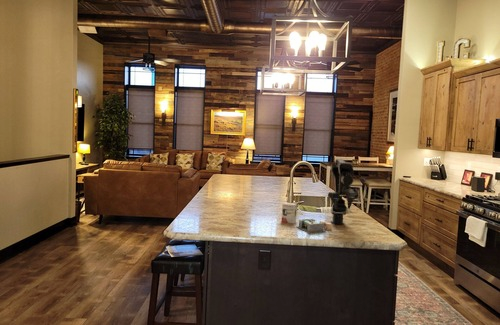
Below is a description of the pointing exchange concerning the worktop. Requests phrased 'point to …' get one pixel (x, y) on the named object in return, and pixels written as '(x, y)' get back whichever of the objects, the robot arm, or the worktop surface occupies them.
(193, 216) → the worktop surface
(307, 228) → the chassis
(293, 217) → the ink box
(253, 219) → the worktop surface
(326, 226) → the block
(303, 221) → the board
